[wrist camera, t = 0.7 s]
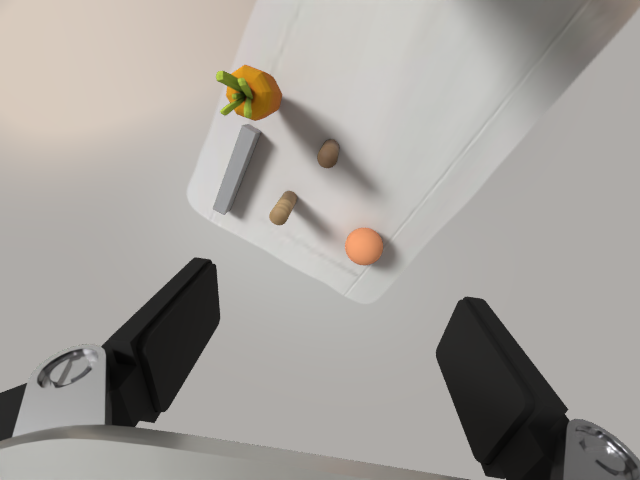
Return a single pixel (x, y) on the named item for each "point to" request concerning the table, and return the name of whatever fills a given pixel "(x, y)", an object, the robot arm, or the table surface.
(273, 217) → the oak pin
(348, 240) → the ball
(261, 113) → the carrot
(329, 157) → the walnut pin
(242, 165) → the back wall
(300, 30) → the table surface
